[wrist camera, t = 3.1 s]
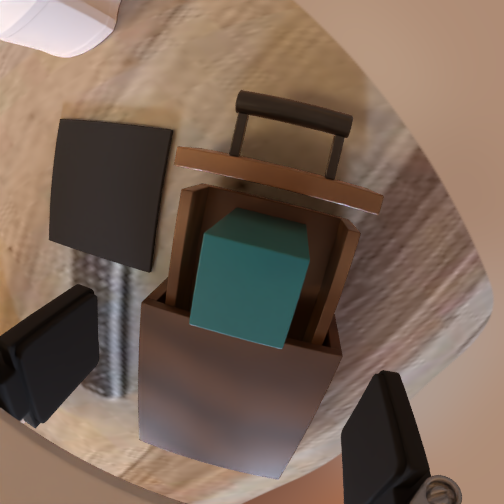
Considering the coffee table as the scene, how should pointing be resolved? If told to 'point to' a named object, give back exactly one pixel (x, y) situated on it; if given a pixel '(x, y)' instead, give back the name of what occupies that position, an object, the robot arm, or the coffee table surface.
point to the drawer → (274, 210)
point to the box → (250, 277)
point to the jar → (58, 24)
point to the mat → (108, 189)
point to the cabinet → (227, 390)
